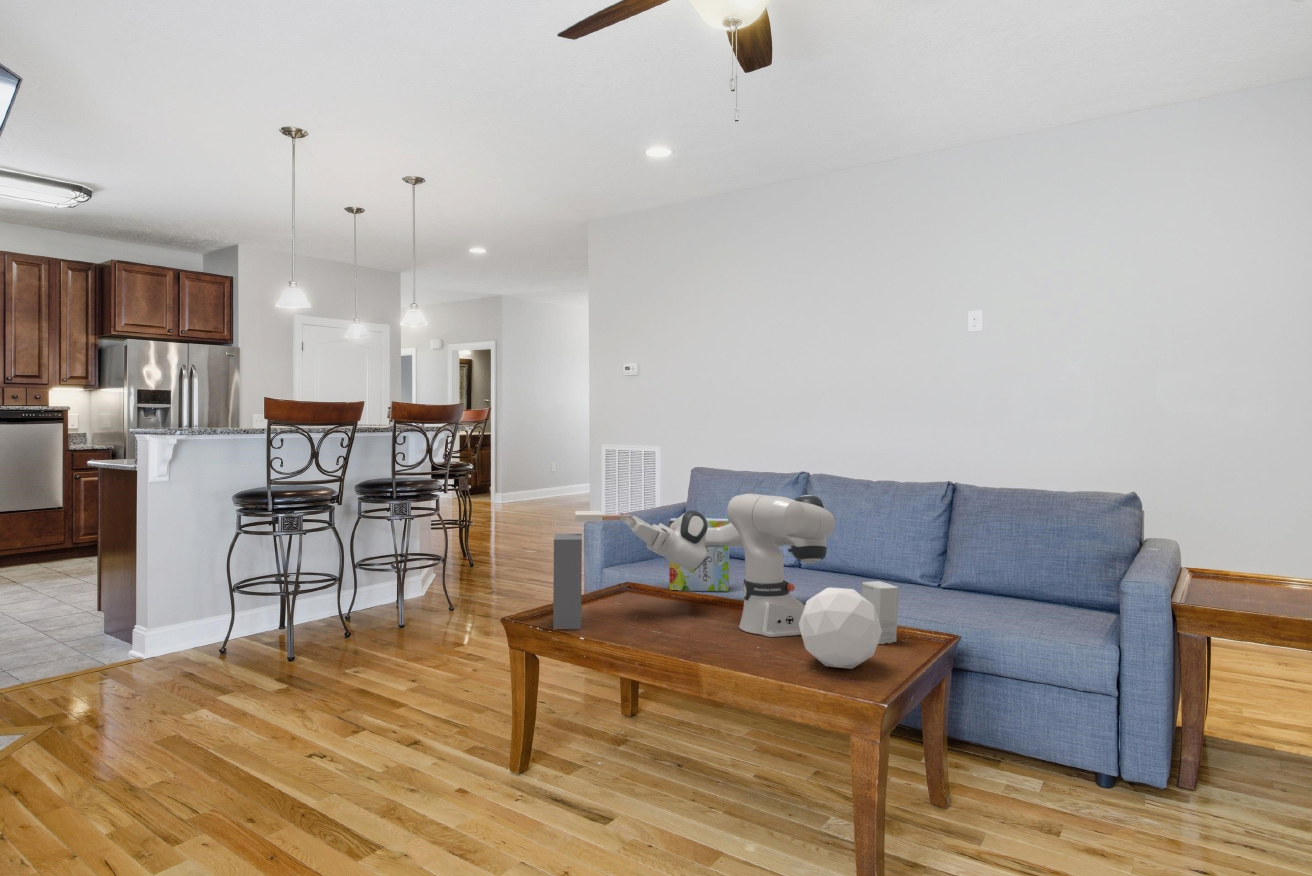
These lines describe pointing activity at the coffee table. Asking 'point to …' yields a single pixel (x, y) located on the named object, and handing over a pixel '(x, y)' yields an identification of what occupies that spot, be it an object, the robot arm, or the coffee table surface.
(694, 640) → the coffee table surface
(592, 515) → the lid
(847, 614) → the geometric sculpture
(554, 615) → the carton
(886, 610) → the skincare box
